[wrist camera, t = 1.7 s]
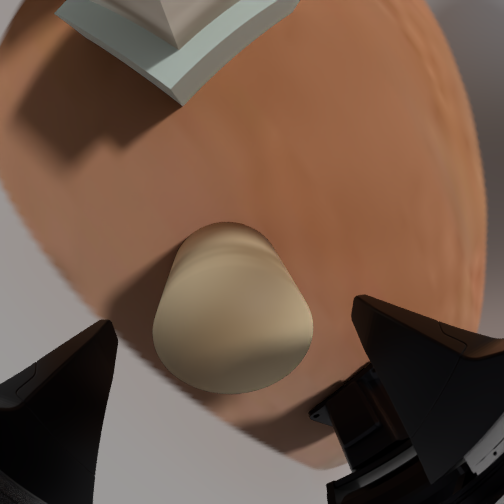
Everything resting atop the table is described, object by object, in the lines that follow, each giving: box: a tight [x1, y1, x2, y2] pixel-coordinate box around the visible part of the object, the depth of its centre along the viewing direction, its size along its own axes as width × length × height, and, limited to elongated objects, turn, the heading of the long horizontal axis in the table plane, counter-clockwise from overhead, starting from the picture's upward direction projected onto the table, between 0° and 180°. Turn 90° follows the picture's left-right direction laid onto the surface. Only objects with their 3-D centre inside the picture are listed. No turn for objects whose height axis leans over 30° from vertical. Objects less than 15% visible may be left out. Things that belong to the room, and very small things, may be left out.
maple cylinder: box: [152, 222, 313, 394], centre depth 10 cm, size 5×5×5 cm
